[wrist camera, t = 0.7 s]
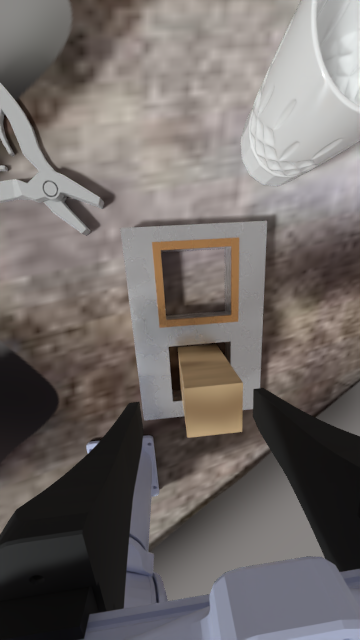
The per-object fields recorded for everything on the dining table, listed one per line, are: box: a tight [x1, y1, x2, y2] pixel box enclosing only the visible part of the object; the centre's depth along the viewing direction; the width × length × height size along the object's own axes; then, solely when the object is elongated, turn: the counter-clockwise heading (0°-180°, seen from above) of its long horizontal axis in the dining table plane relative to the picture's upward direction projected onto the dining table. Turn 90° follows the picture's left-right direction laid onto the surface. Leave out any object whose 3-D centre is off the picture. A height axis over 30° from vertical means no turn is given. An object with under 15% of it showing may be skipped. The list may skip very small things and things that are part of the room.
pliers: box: [0, 83, 104, 236], centre depth 17 cm, size 10×2×15 cm
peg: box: [178, 344, 243, 438], centre depth 19 cm, size 4×4×8 cm
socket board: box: [120, 221, 267, 420], centre depth 21 cm, size 20×13×2 cm, turn 3°
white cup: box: [240, 0, 360, 186], centre depth 13 cm, size 8×8×10 cm
